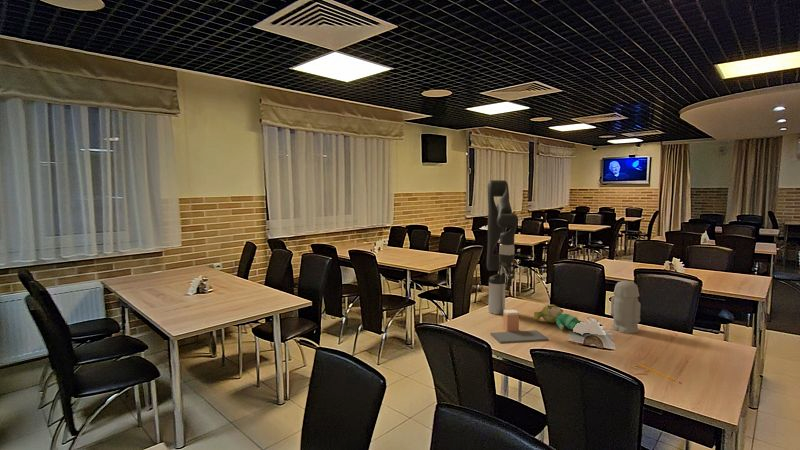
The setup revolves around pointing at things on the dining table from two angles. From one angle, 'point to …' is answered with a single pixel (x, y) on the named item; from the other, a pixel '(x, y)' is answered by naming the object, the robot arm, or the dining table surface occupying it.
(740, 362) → the dining table surface
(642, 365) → the pencil
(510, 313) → the block
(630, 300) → the grey stone figurine
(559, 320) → the toy
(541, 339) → the mat
